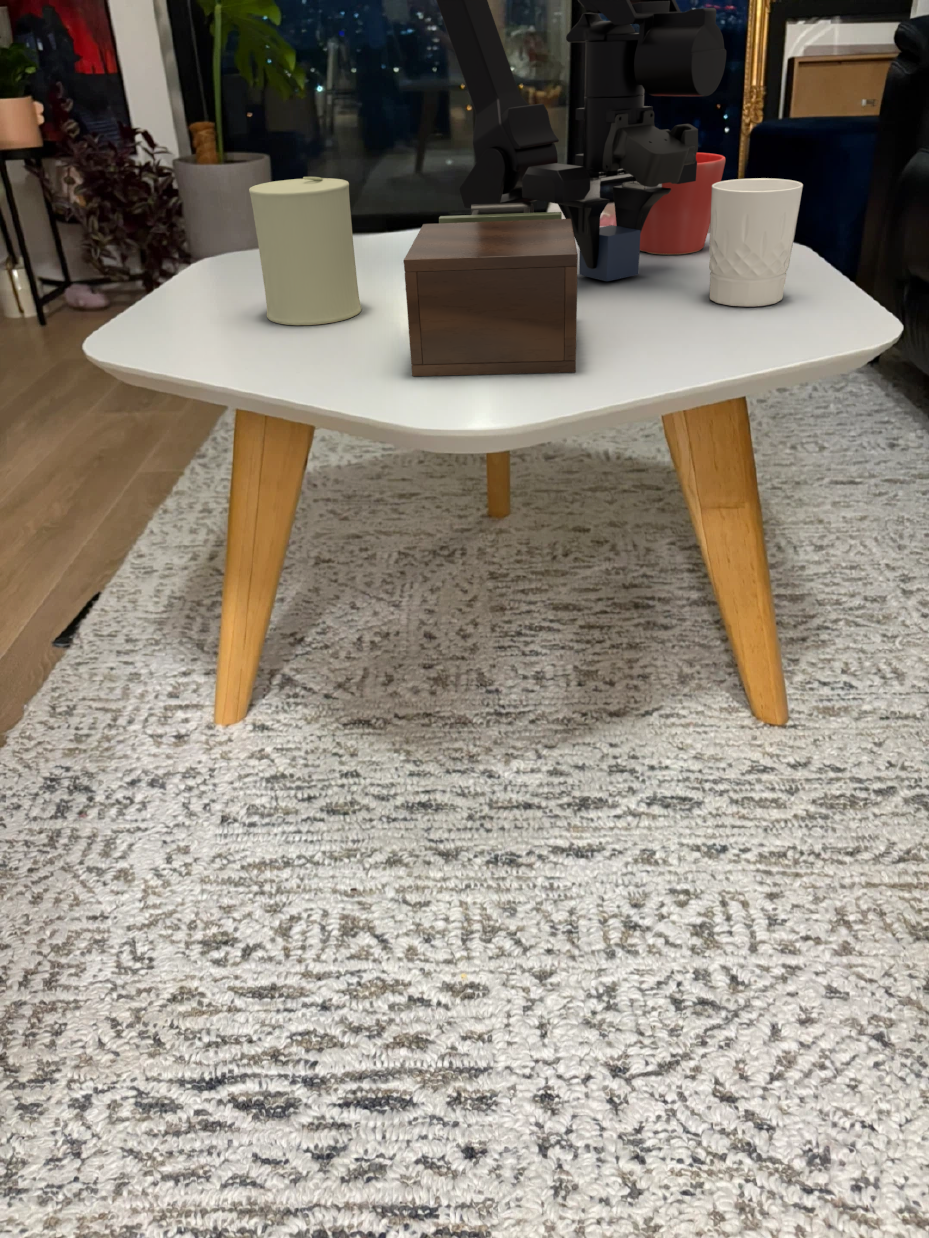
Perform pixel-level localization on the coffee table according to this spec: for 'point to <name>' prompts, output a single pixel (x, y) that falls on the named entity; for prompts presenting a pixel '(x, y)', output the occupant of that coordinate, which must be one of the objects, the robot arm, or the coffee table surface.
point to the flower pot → (683, 212)
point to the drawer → (500, 213)
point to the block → (614, 254)
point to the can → (306, 250)
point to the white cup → (751, 239)
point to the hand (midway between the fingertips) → (608, 264)
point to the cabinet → (492, 298)
